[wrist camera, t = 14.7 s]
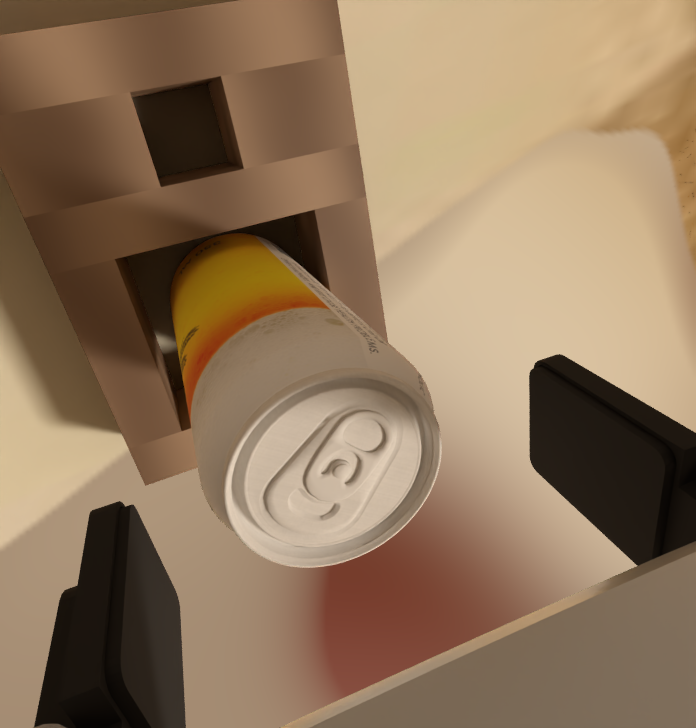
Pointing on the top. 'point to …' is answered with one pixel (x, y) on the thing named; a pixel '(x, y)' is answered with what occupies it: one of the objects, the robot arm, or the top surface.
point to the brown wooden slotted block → (180, 175)
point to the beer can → (297, 407)
